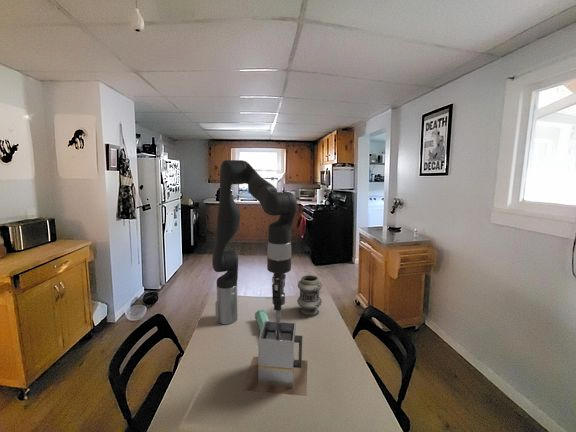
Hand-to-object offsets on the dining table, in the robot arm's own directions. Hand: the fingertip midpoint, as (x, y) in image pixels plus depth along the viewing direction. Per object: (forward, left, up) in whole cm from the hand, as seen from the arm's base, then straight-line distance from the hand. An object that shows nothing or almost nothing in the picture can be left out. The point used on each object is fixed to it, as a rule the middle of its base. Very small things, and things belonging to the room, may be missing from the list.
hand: (278, 306), depth 89 cm
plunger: (0, 0, -13) cm, 13 cm away
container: (-8, +24, -26) cm, 36 cm away
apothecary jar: (+10, +46, -26) cm, 54 cm away
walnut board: (0, 0, -26) cm, 26 cm away
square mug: (+1, 0, -25) cm, 25 cm away
